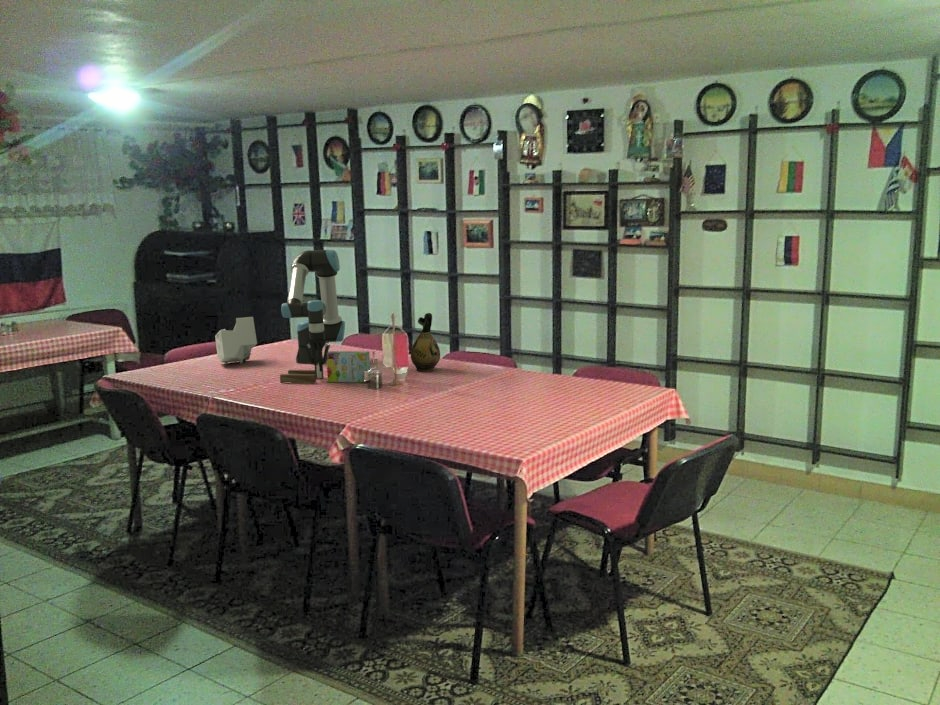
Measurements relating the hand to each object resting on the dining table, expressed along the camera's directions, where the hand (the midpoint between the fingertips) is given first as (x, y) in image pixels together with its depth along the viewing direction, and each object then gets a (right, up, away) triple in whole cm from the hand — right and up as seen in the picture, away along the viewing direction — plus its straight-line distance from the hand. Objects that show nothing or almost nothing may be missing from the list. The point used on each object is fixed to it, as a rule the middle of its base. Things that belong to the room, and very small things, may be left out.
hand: (319, 377), depth 424 cm
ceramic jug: (+53, +3, +20) cm, 57 cm away
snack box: (+16, -2, -4) cm, 16 cm away
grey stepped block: (-57, +6, +54) cm, 78 cm away
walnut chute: (-9, -1, +2) cm, 9 cm away
